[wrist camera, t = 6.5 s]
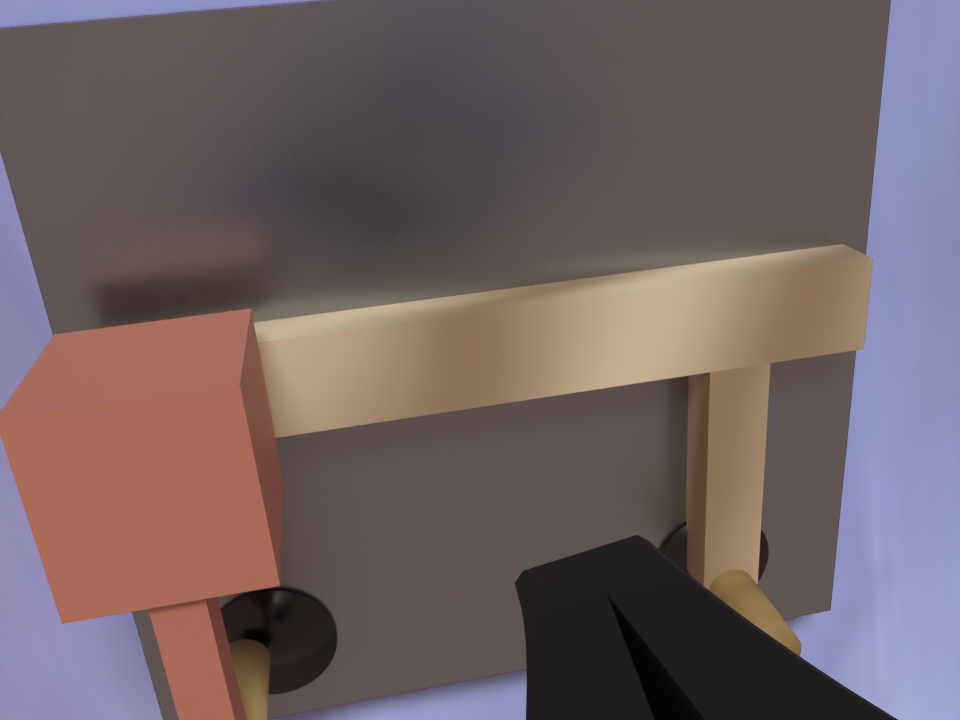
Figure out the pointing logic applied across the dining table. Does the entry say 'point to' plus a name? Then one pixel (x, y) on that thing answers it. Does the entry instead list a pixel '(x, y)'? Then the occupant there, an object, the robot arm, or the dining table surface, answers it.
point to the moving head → (157, 491)
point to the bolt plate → (454, 270)
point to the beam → (597, 371)
